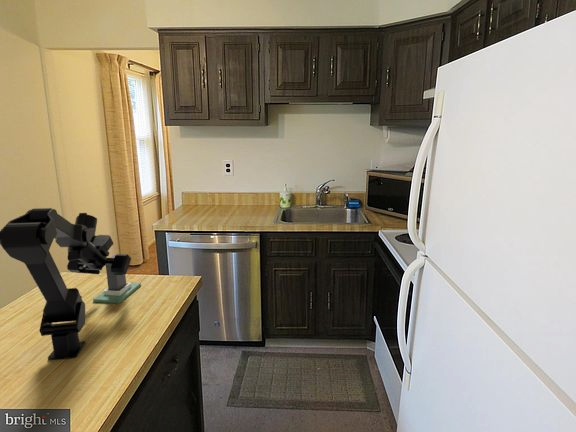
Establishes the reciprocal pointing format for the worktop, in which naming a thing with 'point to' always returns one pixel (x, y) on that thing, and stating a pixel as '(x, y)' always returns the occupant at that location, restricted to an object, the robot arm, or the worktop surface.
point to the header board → (117, 294)
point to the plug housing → (115, 279)
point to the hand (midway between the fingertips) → (112, 273)
